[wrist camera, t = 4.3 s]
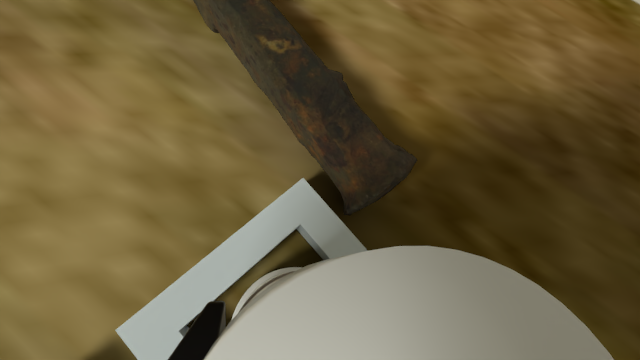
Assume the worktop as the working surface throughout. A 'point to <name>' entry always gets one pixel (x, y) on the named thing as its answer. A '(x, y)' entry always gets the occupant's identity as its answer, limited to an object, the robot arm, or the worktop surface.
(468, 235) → the worktop surface
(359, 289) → the mushroom-shaped knob
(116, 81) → the worktop surface
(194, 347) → the robot arm
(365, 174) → the hand tool
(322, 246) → the rectangular open frame
